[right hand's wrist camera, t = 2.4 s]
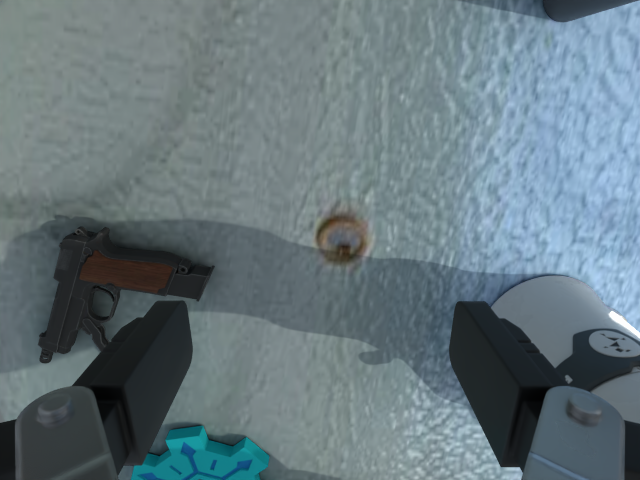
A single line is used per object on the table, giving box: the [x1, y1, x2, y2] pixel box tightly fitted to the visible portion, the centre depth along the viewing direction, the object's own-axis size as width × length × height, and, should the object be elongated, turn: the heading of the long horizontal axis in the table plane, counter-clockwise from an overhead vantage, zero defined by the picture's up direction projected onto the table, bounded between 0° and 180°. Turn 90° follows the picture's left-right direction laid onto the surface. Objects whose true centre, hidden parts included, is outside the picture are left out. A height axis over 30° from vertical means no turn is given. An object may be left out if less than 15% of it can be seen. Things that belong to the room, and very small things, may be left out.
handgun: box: [38, 227, 215, 363], centre depth 44 cm, size 4×21×15 cm
